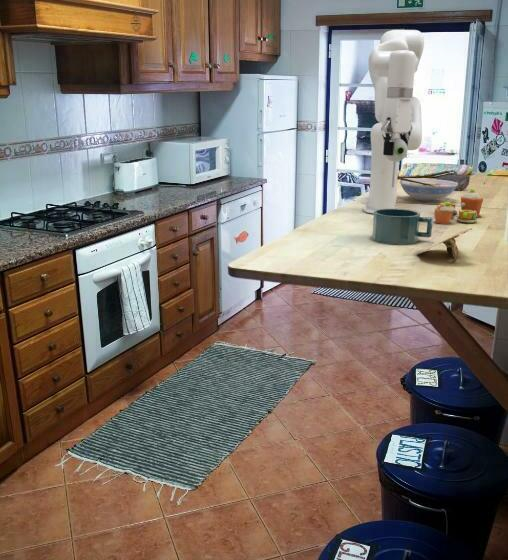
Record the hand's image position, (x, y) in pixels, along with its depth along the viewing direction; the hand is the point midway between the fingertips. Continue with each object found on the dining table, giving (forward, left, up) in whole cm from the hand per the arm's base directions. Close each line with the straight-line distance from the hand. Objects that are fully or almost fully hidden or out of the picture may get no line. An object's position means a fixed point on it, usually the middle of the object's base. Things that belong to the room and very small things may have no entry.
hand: (395, 154), depth 195 cm
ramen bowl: (-20, +59, -23) cm, 67 cm away
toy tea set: (+7, +31, -23) cm, 40 cm away
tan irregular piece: (+30, -22, -23) cm, 44 cm away
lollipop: (0, 0, -10) cm, 10 cm away
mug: (+12, -12, -23) cm, 29 cm away
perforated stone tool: (-28, +95, -23) cm, 102 cm away
